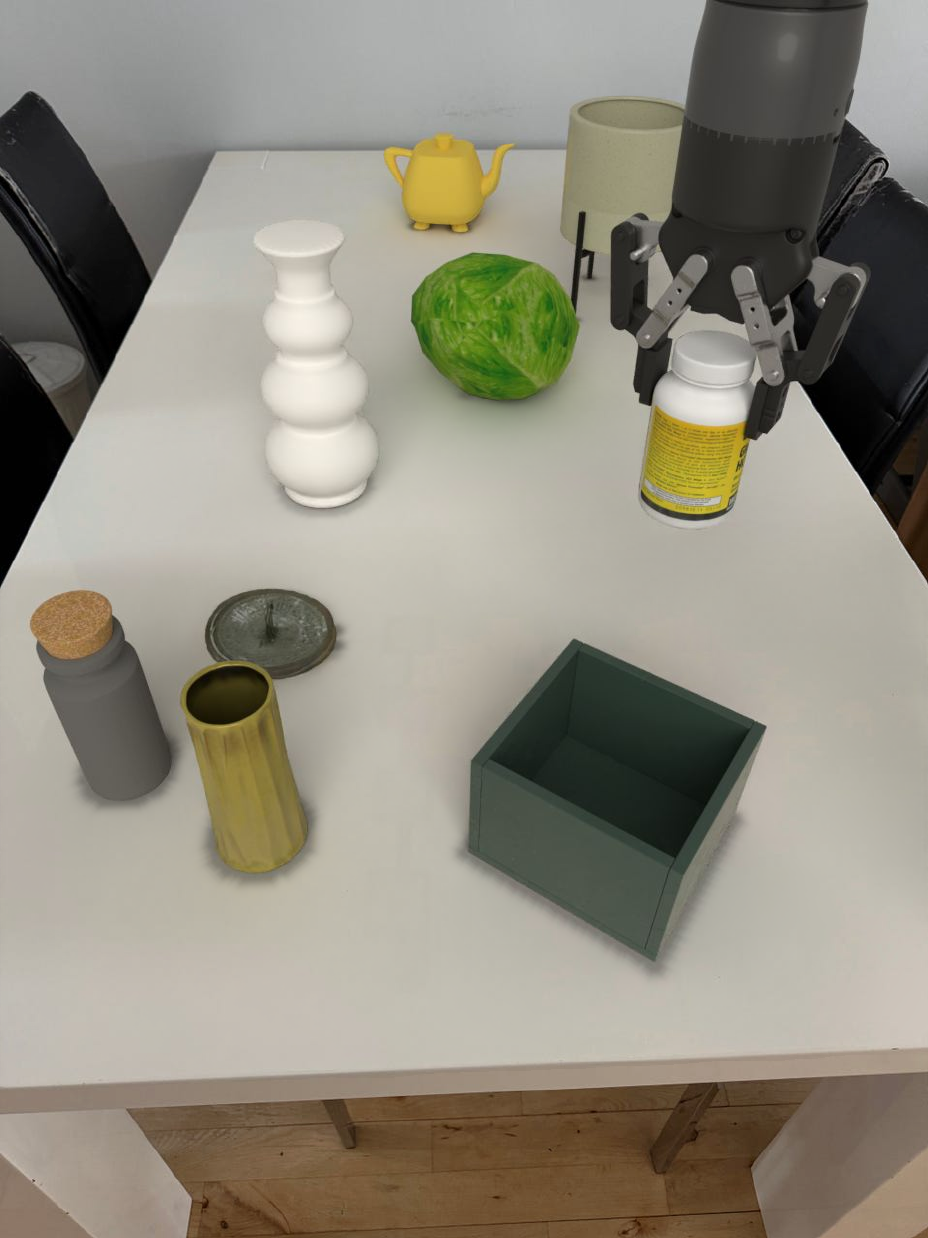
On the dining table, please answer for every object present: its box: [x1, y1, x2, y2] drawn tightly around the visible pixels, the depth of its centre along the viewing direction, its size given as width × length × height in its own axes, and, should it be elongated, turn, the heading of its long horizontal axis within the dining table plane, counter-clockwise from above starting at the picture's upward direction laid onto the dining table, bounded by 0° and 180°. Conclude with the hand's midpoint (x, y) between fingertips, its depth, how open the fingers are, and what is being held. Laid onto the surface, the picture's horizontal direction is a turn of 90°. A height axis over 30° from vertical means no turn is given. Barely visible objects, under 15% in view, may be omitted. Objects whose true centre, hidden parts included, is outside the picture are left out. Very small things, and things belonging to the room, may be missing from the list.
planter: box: [559, 95, 685, 315], centre depth 115 cm, size 15×16×23 cm
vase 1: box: [179, 661, 308, 874], centre depth 56 cm, size 6×6×14 cm
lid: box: [204, 588, 338, 681], centre depth 73 cm, size 10×10×5 cm
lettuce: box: [410, 251, 581, 401], centre depth 101 cm, size 17×20×17 cm
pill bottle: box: [637, 329, 758, 531], centre depth 56 cm, size 6×6×11 cm
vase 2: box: [252, 219, 380, 509], centre depth 82 cm, size 11×11×25 cm
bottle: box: [29, 589, 172, 801], centre depth 60 cm, size 6×6×15 cm
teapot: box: [383, 132, 516, 233], centre depth 139 cm, size 13×20×12 cm
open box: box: [467, 638, 768, 963], centre depth 58 cm, size 14×13×10 cm
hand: (702, 415), depth 55 cm, fingers closed on pill bottle, 6 cm apart
